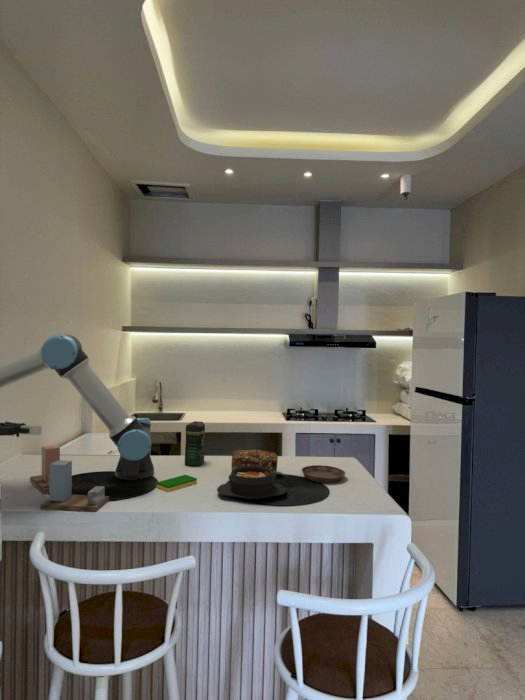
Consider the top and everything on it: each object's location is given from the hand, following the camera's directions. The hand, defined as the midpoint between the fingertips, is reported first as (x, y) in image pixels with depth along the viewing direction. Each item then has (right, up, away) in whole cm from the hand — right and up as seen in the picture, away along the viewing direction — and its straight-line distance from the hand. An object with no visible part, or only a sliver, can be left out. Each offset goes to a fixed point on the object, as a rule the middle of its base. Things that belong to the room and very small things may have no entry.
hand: (40, 430), depth 152 cm
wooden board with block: (+12, -24, -1) cm, 27 cm away
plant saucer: (+99, -26, +35) cm, 108 cm away
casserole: (+70, -26, +13) cm, 76 cm away
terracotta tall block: (-6, -22, +20) cm, 30 cm away
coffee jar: (+44, -24, +51) cm, 71 cm away
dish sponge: (+42, -25, +21) cm, 53 cm away
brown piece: (-5, -23, +19) cm, 30 cm away
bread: (+71, -25, +37) cm, 84 cm away
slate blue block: (+7, -22, -1) cm, 23 cm away
